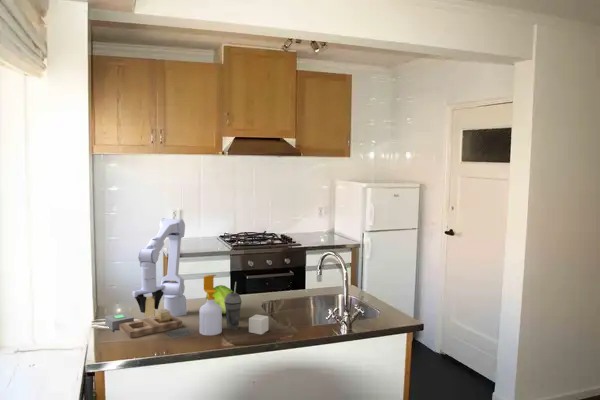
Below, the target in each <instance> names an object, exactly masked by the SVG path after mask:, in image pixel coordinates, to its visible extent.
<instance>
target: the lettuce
mask: <svg viewBox="0 0 600 400" xmlns="http://www.w3.org/2000/svg"><path fill="white" fill-rule="evenodd" d="M213 287H214V289H215V290H216V291H217V292H215V293H214V294H213V297H215V303H216V304H218V305H219V306H221V308H222V315H223V314H225V315H226V307H225V303H224V301H225V297H226V296H227V294H229V293H231V292H234V290H232V289H231V288H229V287H227V286H226V285H222V284H220V285H216V286H213ZM207 297H209V294H207V293H206V297H205V303H206V302H207Z"/></svg>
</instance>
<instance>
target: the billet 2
mask: <svg viewBox="0 0 600 400" xmlns="http://www.w3.org/2000/svg"><path fill="white" fill-rule="evenodd" d="M156 317H157V322H158V323H159V324H160V323H165V322H170V311H169V310H167V309H164V308H163V309H157V310H156Z"/></svg>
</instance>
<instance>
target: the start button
mask: <svg viewBox="0 0 600 400" xmlns="http://www.w3.org/2000/svg"><path fill="white" fill-rule="evenodd" d="M114 318H115V319H120V318H125V316H123V315H117V316H114Z"/></svg>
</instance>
